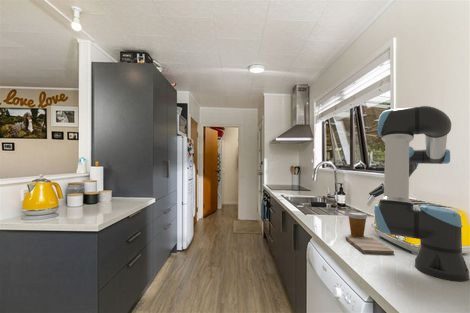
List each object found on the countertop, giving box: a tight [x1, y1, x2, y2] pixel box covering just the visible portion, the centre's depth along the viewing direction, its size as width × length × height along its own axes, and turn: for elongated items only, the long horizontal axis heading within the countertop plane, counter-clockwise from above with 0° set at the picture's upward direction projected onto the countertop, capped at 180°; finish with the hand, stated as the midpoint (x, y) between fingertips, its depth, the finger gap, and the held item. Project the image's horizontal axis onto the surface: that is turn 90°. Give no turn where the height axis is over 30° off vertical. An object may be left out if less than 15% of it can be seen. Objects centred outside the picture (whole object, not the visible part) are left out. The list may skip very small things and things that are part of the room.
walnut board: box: [345, 236, 395, 255], centre depth 113 cm, size 19×13×2 cm
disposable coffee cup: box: [347, 211, 368, 237], centre depth 131 cm, size 10×10×12 cm
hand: (377, 207), depth 132 cm, fingers open, 13 cm apart
